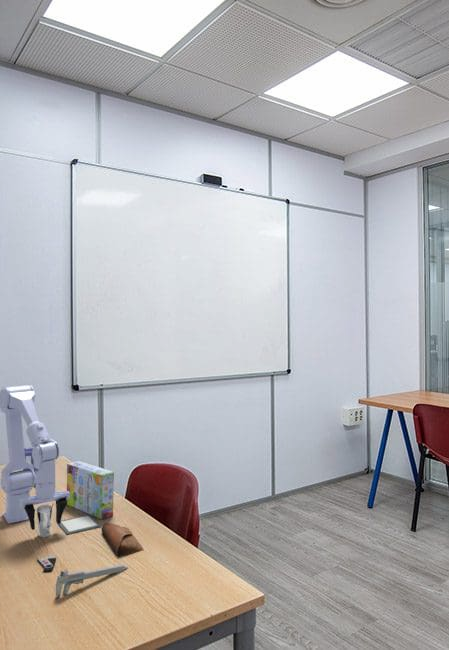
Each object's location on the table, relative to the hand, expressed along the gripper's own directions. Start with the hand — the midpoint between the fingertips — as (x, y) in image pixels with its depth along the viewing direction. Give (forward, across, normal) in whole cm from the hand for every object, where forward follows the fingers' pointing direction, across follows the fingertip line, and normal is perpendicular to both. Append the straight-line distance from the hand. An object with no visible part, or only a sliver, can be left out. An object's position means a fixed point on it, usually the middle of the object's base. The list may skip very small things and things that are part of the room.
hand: (45, 525), depth 155 cm
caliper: (+3, +3, -35) cm, 35 cm away
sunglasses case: (+4, +18, -17) cm, 25 cm away
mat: (+3, +11, +2) cm, 12 cm away
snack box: (+3, +18, +13) cm, 22 cm away
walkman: (+3, +11, +63) cm, 64 cm away
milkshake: (+3, 0, 0) cm, 3 cm away
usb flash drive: (+3, -5, -19) cm, 20 cm away
